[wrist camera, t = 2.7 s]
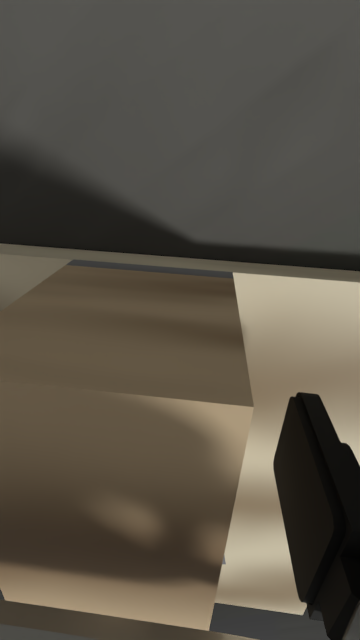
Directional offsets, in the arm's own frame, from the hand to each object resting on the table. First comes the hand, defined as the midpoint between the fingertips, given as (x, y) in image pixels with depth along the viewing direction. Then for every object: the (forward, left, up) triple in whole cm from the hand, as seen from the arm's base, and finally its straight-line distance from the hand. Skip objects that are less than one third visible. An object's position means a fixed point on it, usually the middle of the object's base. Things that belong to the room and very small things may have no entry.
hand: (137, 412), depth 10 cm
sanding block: (0, 0, -2) cm, 2 cm away
